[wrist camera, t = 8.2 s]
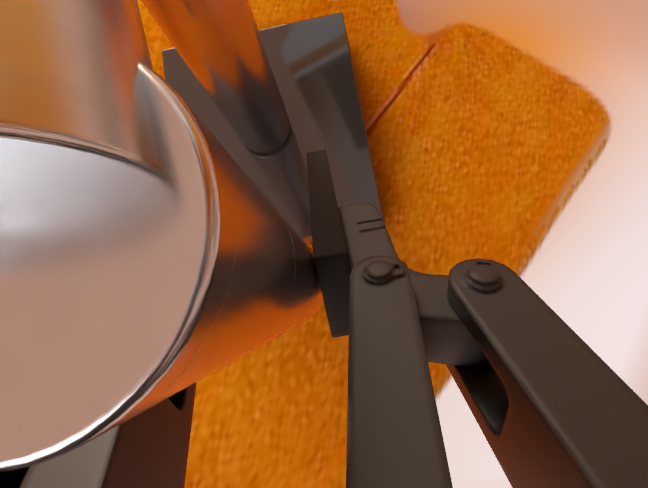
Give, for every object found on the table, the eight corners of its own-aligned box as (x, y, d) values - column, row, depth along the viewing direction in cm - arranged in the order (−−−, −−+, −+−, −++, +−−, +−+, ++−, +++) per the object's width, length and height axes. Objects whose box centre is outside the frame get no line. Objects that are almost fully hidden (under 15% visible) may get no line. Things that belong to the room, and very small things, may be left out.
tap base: (177, 70, 24) (161, 49, 22) (343, 35, 23) (342, 11, 21) (197, 262, 22) (181, 259, 20) (381, 230, 21) (384, 223, 19)
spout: (232, 112, 20) (-467, -973, 3) (282, 96, 20) (-133, -1123, 3) (289, 321, 18) (-1063, 905, 1) (345, 304, 18) (236, 530, 1)
